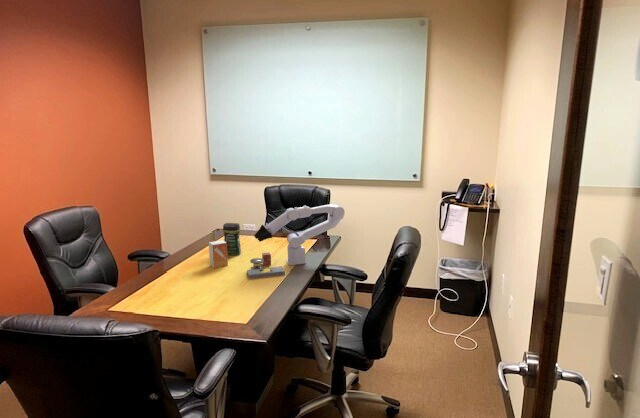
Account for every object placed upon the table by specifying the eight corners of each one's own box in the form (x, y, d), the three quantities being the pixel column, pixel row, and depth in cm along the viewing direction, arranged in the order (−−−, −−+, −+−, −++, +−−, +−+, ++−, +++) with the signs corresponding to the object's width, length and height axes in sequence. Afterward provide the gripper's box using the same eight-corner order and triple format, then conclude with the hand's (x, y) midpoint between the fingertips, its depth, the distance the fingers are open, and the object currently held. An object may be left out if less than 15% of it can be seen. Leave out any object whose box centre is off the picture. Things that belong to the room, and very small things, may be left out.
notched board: (281, 269, 223) (281, 266, 222) (284, 274, 215) (284, 271, 215) (247, 273, 218) (246, 269, 217) (249, 278, 210) (248, 275, 210)
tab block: (269, 262, 234) (269, 252, 233) (271, 265, 231) (270, 254, 229) (262, 263, 233) (262, 253, 232) (263, 265, 229) (263, 255, 228)
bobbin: (263, 266, 228) (262, 257, 227) (265, 270, 222) (264, 261, 221) (249, 267, 226) (249, 258, 225) (251, 272, 220) (251, 262, 219)
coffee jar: (222, 255, 248) (220, 224, 244) (227, 251, 256) (225, 221, 252) (238, 256, 246) (236, 225, 243) (242, 252, 254) (241, 221, 250)
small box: (213, 268, 226) (212, 244, 223) (209, 265, 231) (208, 242, 229) (228, 265, 230) (227, 242, 228) (224, 262, 235) (222, 239, 233)
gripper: (276, 221, 236) (256, 235, 235) (270, 214, 222) (249, 229, 221) (283, 231, 234) (263, 246, 233) (278, 224, 220) (256, 240, 219)
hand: (256, 238), depth 227 cm, fingers open, 7 cm apart
